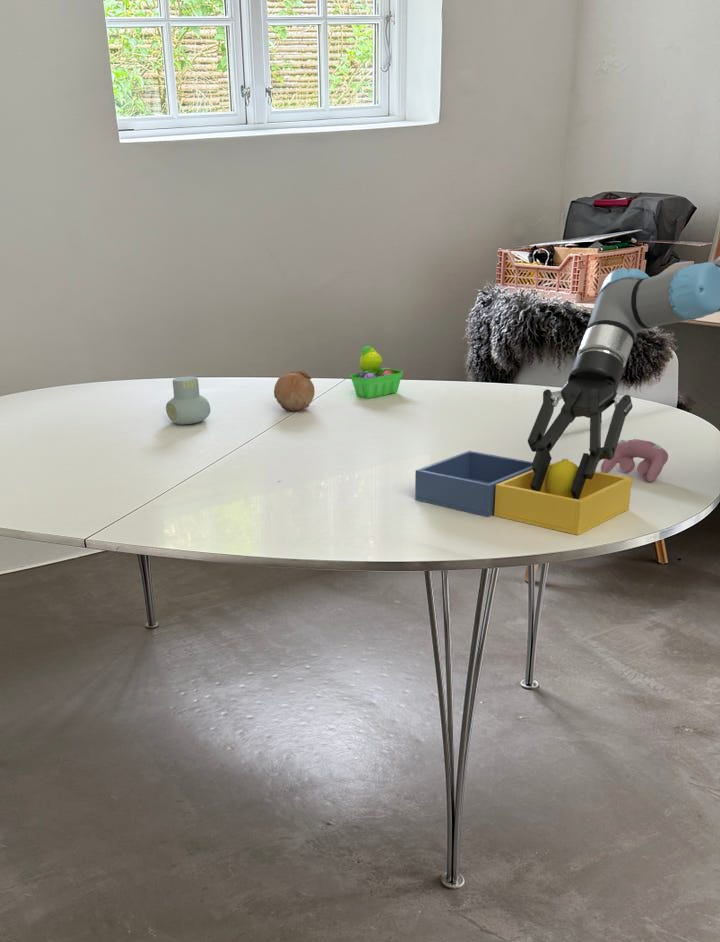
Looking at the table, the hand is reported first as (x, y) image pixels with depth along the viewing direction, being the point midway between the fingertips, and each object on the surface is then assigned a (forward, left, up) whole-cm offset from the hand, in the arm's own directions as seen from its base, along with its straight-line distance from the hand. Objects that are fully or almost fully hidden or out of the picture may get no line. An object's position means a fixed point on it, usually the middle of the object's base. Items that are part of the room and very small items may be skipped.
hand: (554, 492), depth 144 cm
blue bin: (+16, -3, -4) cm, 16 cm away
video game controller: (+2, -28, -5) cm, 28 cm away
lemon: (+1, -4, -4) cm, 5 cm away
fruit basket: (+84, -55, -5) cm, 100 cm away
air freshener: (+102, -10, -5) cm, 102 cm away
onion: (+89, -32, -5) cm, 94 cm away
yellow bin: (+1, -4, -4) cm, 6 cm away
